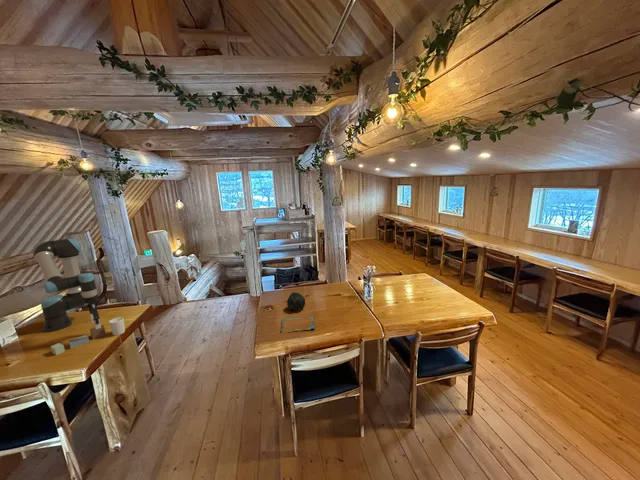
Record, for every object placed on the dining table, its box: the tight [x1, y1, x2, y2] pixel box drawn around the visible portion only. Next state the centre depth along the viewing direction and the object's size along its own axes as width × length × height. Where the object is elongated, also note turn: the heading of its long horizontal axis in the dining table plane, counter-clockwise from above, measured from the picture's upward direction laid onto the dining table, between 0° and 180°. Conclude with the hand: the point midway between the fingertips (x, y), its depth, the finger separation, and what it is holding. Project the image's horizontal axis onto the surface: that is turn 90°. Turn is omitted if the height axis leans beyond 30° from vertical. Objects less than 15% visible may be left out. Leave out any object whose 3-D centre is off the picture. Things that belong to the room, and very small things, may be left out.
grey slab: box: [68, 334, 90, 350], centre depth 168 cm, size 7×9×4 cm
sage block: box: [50, 342, 66, 356], centre depth 159 cm, size 6×4×4 cm, turn 64°
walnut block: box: [89, 324, 107, 340], centre depth 176 cm, size 6×7×6 cm
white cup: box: [108, 316, 126, 336], centre depth 179 cm, size 8×8×10 cm
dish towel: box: [280, 316, 316, 332], centre depth 181 cm, size 17×23×2 cm
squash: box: [286, 292, 306, 311], centre depth 206 cm, size 14×15×15 cm
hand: (96, 325), depth 175 cm, fingers open, 13 cm apart
